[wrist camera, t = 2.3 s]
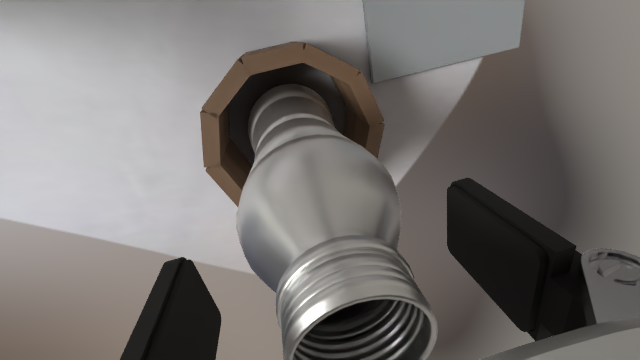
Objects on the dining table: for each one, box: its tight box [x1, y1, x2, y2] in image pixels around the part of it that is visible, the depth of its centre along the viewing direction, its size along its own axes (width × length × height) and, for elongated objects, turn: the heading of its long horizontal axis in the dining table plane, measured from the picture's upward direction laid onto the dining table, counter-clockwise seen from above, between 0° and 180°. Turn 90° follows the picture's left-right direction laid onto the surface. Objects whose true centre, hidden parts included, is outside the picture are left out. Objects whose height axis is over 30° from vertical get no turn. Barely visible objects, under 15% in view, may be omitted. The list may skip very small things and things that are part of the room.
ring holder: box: [200, 42, 384, 207], centre depth 21 cm, size 12×12×6 cm
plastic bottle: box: [237, 84, 438, 360], centre depth 15 cm, size 6×7×20 cm
